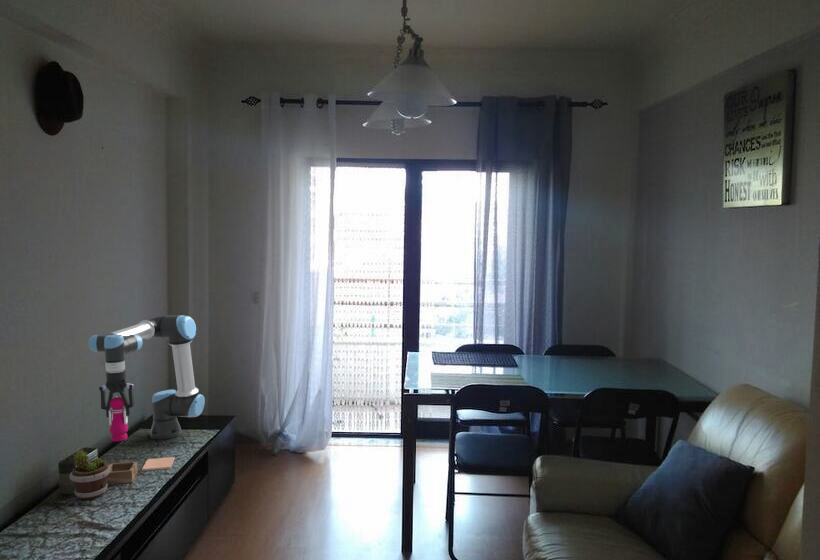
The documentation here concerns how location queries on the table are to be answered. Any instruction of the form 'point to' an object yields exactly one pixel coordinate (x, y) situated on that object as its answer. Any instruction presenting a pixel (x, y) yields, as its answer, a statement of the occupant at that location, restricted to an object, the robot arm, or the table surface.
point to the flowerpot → (89, 476)
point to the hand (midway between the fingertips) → (118, 423)
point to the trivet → (158, 463)
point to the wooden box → (122, 472)
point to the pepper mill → (118, 420)
